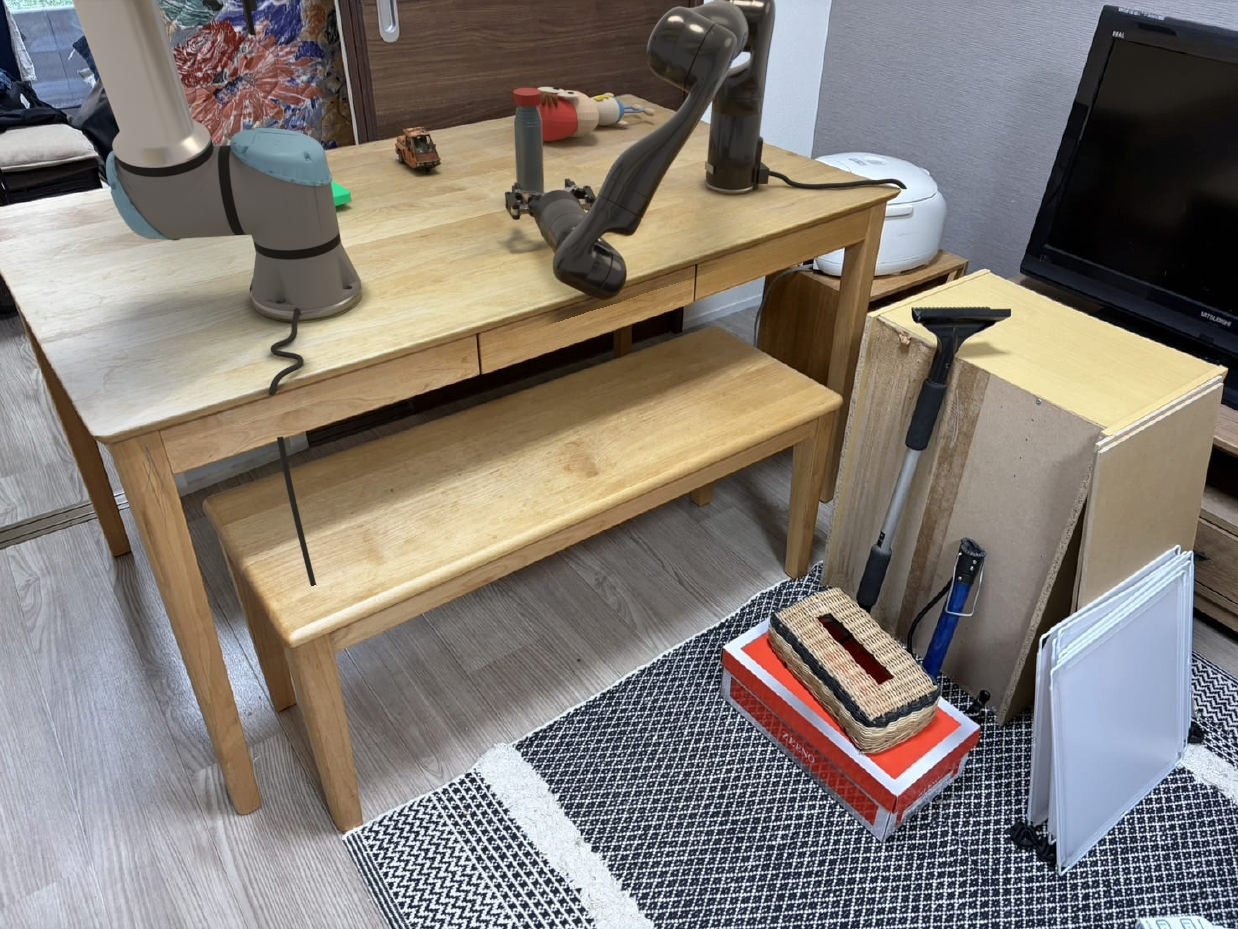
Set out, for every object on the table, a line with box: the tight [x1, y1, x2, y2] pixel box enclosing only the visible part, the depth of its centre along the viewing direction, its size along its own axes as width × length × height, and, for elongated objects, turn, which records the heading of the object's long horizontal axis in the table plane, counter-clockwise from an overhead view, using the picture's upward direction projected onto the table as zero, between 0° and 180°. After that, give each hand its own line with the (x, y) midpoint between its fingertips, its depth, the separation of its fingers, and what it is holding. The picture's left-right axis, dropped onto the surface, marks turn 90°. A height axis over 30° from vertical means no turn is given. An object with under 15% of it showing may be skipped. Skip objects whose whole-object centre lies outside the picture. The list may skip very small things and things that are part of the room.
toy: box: [537, 86, 656, 142], centre depth 199 cm, size 18×10×30 cm
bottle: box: [513, 106, 545, 202], centre depth 161 cm, size 5×5×19 cm
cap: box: [512, 87, 542, 107], centre depth 156 cm, size 5×5×2 cm
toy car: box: [394, 126, 442, 174], centre depth 178 cm, size 6×12×7 cm, turn 39°
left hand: (207, 37), depth 147 cm, fingers open, 13 cm apart
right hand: (541, 186), depth 155 cm, fingers open, 8 cm apart
